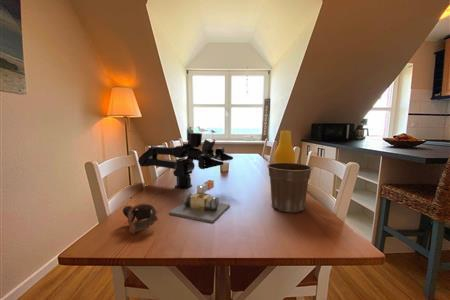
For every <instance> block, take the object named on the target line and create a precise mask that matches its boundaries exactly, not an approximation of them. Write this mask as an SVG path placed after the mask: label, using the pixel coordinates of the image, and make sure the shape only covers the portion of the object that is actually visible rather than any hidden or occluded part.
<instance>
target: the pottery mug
mask: <svg viewBox="0 0 450 300" xmlns="http://www.w3.org/2000/svg"><path fill="white" fill-rule="evenodd" d="M122 213H123V215H124V216H125V218H127V222H128V225H129V229H128V231H129V232H130V233H131V234H133V235H135V233H137V232H140V231H143V230H146V229H149V228H150V226H152V225H154V224H155V222H156V221H158V220H159V219H158V217H157V214H158V210H157V209H156V208H155V207H154V206H153V205H151V204H150V203H145V202H142V203H138V204H135V205H133V206H131V205H126V206H124V207H123V209H122ZM135 219H136V220H135Z"/></svg>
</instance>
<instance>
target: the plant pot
mask: <svg viewBox="0 0 450 300" xmlns="http://www.w3.org/2000/svg"><path fill="white" fill-rule="evenodd" d="M267 168H268V176H269V180H270V181H269V182H270V196H271V197H270V198H271V199H270V200H271V207H272V208H273V209H275V210H278V211H279V212H283V213H288V214H289V213H291V214H293V213H294V214H296V213H300V212H303V211H304V210H305V209H306V208H305V207H306V199H307V194H308V193H307V192H308V187H309V180H310V178H311V171H312V170H313V167H312V166H310V165H308V164H302V163H296V162H295V163H274V162H272V163H268V164H267Z"/></svg>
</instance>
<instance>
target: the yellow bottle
mask: <svg viewBox="0 0 450 300" xmlns="http://www.w3.org/2000/svg"><path fill="white" fill-rule="evenodd" d="M278 141H279V142H278V146H277V147H276V150H275V152H274V156H273V157H274V158H273V159H274V160H273V163H296V152H295V149H294V146H293V143H292V132H291V130H280V135H279V140H278Z"/></svg>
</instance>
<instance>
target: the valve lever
mask: <svg viewBox="0 0 450 300" xmlns="http://www.w3.org/2000/svg"><path fill="white" fill-rule="evenodd" d="M214 181H215V180H212V179H211V180H210V179H209V180H208V179H207V180H206V181H205V182H203V184H201V185H197V186H196V193H197V194H204V193H206V192H208V191H210V190H212V189H213V188H214V187H215V182H214Z"/></svg>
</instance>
